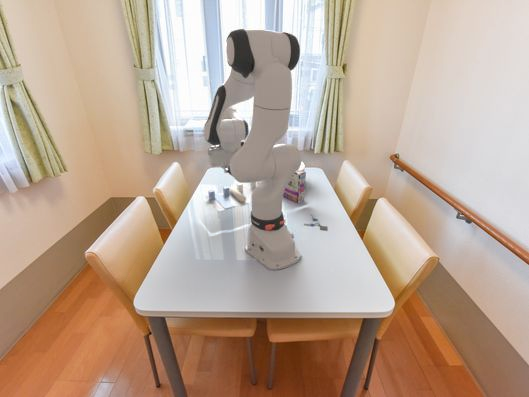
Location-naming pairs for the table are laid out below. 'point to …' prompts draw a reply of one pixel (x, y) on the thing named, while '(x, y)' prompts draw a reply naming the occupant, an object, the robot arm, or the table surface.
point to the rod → (237, 194)
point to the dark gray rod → (228, 168)
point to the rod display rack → (230, 197)
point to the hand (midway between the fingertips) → (230, 171)
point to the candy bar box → (296, 187)
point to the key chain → (318, 225)
